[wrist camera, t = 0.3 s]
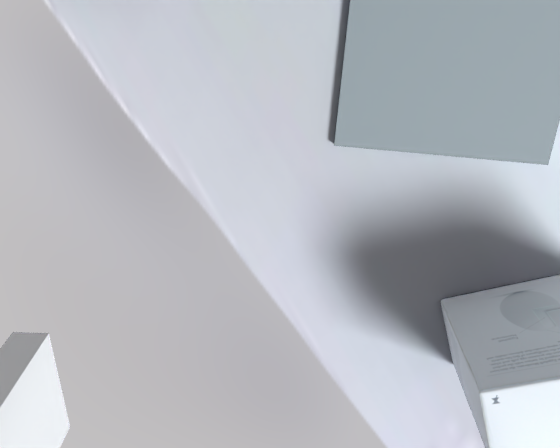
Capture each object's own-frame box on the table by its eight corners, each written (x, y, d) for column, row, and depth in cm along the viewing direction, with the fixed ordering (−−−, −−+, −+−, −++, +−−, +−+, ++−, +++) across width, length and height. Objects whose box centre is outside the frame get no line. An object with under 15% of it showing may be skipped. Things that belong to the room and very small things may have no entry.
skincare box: (454, 369, 41) (493, 476, 31) (439, 297, 39) (475, 388, 29) (596, 343, 39) (686, 449, 29) (588, 267, 37) (681, 352, 27)
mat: (355, -54, 31) (356, -56, 31) (596, -38, 30) (600, -39, 30) (334, 144, 35) (334, 145, 35) (545, 163, 35) (547, 164, 34)
